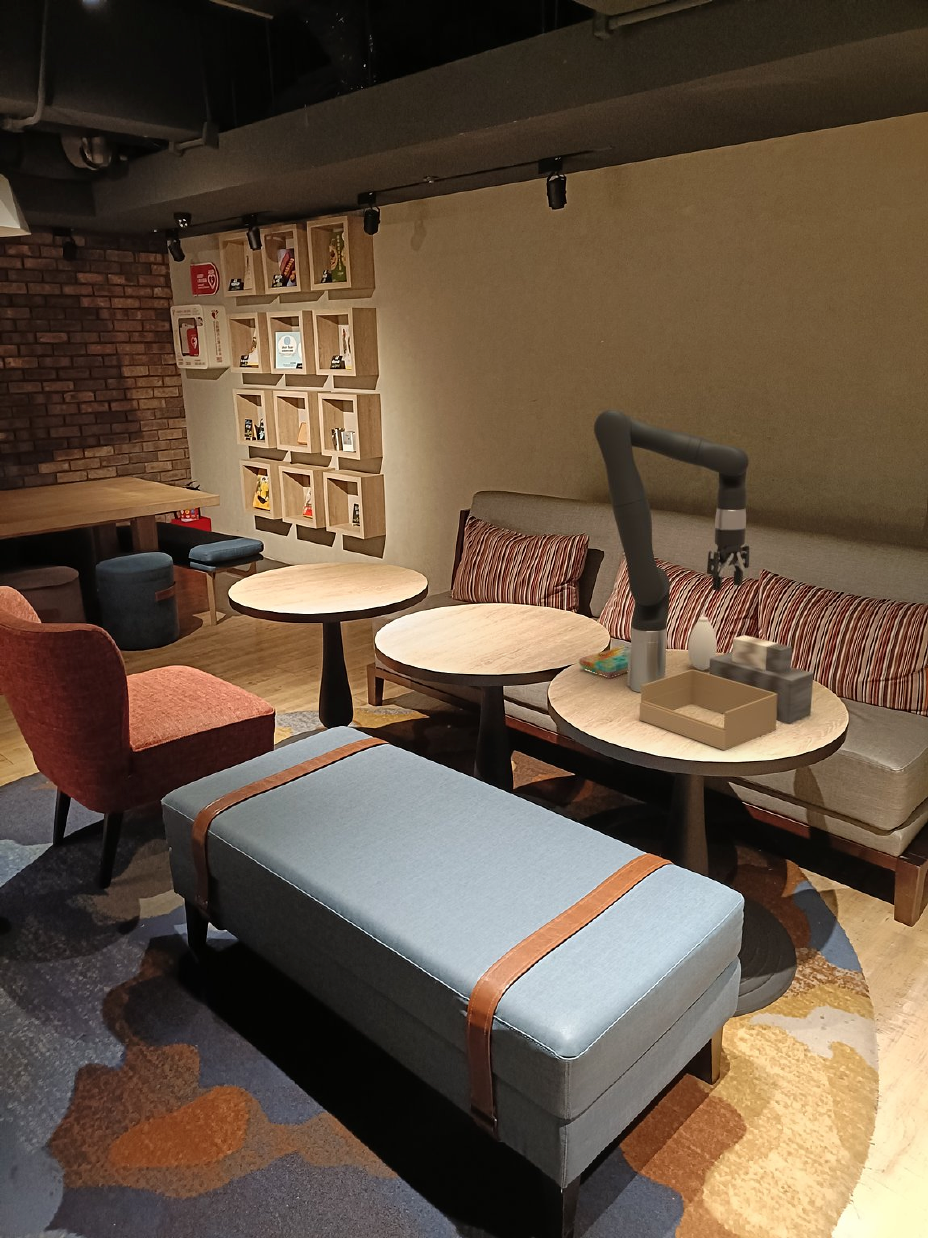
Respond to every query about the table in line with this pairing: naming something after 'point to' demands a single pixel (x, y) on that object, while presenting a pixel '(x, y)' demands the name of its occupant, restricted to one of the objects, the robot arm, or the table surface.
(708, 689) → the carton
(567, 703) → the table surface
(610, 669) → the puzzle game
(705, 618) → the sauce bottle
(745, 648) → the block
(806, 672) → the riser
